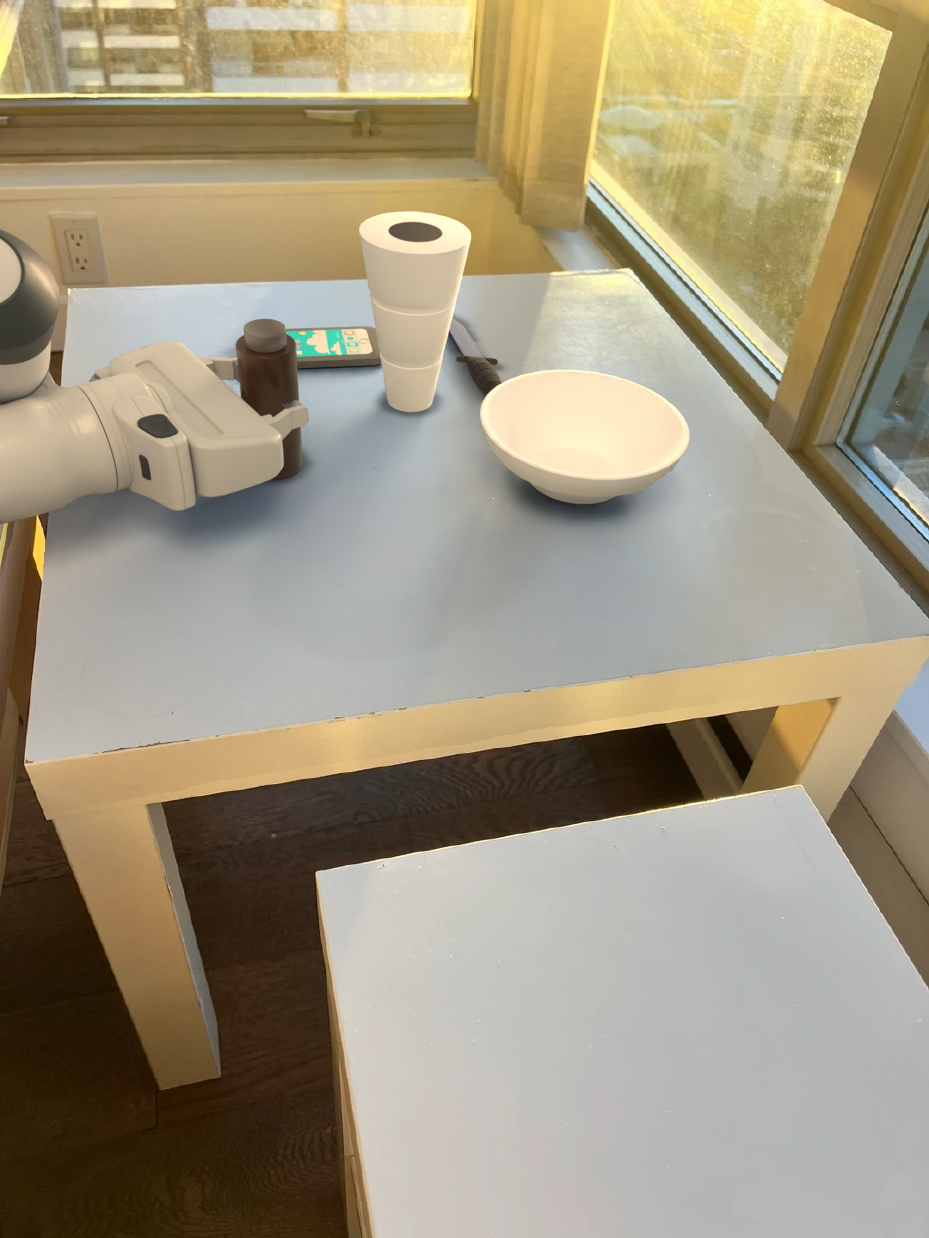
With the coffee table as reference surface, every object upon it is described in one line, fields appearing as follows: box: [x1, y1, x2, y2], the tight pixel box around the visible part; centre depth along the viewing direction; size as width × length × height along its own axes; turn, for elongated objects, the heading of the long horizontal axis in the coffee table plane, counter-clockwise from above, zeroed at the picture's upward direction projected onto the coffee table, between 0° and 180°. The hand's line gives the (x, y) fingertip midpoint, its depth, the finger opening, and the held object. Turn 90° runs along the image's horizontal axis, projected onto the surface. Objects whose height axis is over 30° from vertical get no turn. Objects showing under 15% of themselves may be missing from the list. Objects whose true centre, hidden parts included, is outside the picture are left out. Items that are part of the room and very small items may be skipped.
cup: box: [358, 211, 472, 413], centre depth 97 cm, size 11×11×18 cm
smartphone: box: [286, 325, 382, 369], centre depth 110 cm, size 9×1×15 cm
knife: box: [448, 317, 503, 396], centre depth 111 cm, size 24×2×5 cm
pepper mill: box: [235, 318, 303, 481], centre depth 88 cm, size 5×5×14 cm
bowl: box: [479, 369, 690, 505], centre depth 91 cm, size 20×20×7 cm
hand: (277, 388), depth 86 cm, fingers open, 8 cm apart
